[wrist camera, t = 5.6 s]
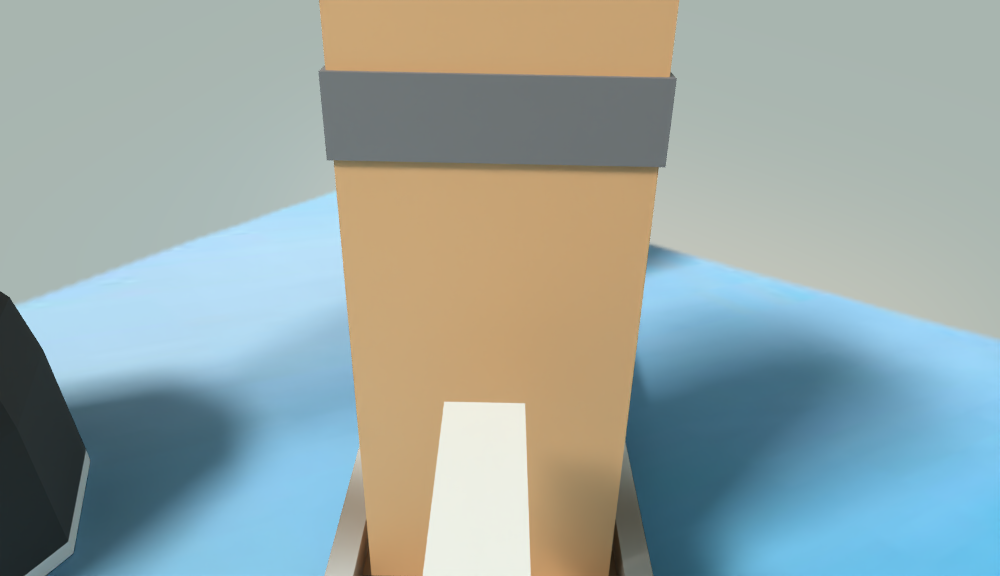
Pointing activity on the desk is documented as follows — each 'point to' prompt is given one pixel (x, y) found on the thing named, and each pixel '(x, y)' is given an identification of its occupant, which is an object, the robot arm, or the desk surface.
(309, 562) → the desk surface
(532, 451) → the tan box with band
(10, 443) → the hook
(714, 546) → the desk surface
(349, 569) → the track
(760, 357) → the desk surface
